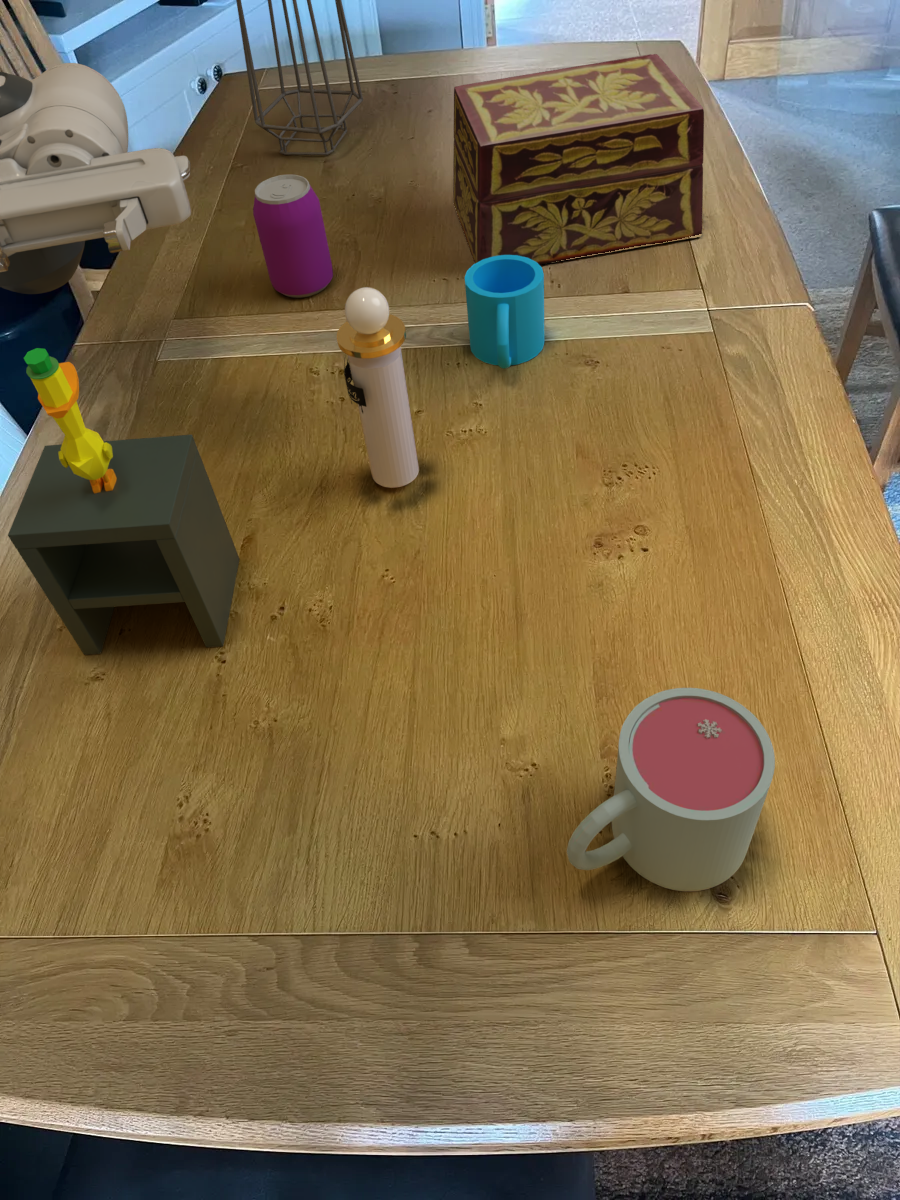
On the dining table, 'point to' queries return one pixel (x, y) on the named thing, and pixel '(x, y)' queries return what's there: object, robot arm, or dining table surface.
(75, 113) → the robot arm
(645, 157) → the decorative box
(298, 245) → the beverage can
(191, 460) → the shelf
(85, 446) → the toy figure
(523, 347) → the mug
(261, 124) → the geometric lantern
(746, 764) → the mug
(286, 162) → the dining table surface
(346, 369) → the perfume bottle
